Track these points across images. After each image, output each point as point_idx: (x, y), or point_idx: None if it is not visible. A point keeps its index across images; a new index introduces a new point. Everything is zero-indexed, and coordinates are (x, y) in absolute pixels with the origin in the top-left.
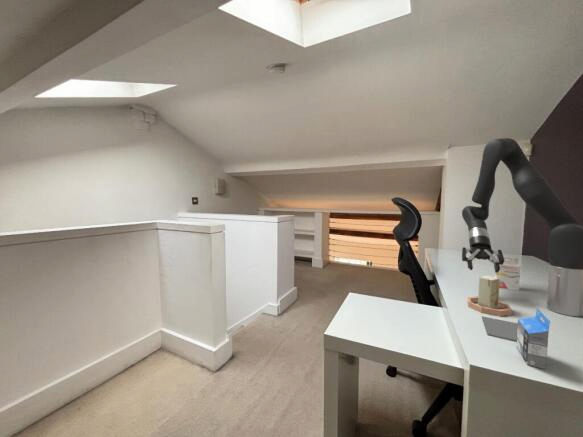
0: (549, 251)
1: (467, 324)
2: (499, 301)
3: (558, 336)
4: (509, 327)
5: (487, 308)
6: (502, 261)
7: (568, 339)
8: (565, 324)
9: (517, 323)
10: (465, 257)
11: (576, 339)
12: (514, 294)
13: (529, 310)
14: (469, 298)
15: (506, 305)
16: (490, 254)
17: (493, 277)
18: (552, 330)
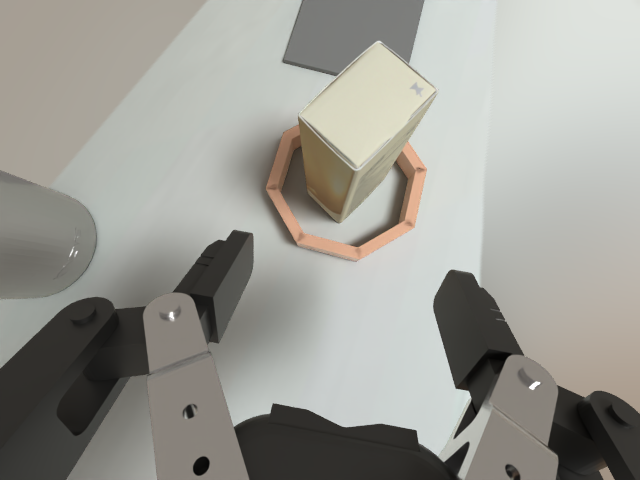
0: None
1: (463, 28)
2: (287, 215)
3: (233, 22)
4: (349, 29)
5: None
6: (106, 299)
7: (218, 11)
8: (145, 112)
9: (309, 63)
10: (600, 405)
11: (195, 17)
12: (115, 441)
13: (187, 212)
14: (408, 217)
15: (280, 173)
16: (190, 439)
17: (335, 118)
18: (223, 55)
